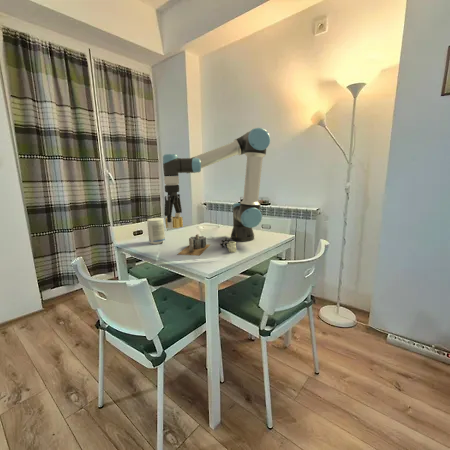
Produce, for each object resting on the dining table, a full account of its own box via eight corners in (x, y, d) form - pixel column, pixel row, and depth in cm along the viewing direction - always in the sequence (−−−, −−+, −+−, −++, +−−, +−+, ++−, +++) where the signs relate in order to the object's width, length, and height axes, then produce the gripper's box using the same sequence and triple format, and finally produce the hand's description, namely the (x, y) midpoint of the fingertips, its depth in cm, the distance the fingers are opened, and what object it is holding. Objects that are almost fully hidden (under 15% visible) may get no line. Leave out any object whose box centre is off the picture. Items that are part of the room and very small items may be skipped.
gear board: (210, 247, 144) (210, 232, 142) (199, 258, 125) (199, 241, 123) (190, 246, 146) (190, 232, 145) (177, 257, 127) (176, 241, 126)
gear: (205, 243, 145) (204, 235, 144) (206, 248, 136) (206, 239, 135) (189, 245, 144) (188, 236, 143) (189, 249, 135) (189, 240, 134)
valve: (239, 254, 129) (231, 248, 140) (239, 242, 128) (231, 237, 139) (227, 256, 127) (220, 250, 138) (227, 244, 126) (219, 238, 137)
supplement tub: (167, 241, 159) (166, 218, 157) (159, 245, 151) (158, 220, 148) (154, 240, 162) (152, 217, 159) (145, 244, 153) (143, 220, 150)
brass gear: (185, 225, 141) (185, 216, 140) (179, 228, 132) (178, 219, 131) (170, 224, 143) (170, 216, 142) (162, 228, 134) (162, 219, 133)
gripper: (174, 183, 144) (176, 222, 149) (155, 185, 123) (158, 230, 128) (186, 183, 142) (188, 222, 147) (169, 185, 122) (172, 230, 126)
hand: (174, 226), depth 137 cm, fingers closed on brass gear, 9 cm apart
